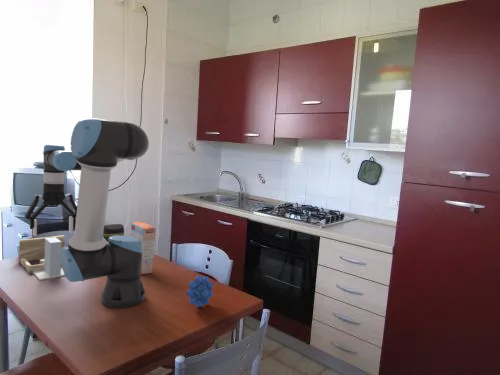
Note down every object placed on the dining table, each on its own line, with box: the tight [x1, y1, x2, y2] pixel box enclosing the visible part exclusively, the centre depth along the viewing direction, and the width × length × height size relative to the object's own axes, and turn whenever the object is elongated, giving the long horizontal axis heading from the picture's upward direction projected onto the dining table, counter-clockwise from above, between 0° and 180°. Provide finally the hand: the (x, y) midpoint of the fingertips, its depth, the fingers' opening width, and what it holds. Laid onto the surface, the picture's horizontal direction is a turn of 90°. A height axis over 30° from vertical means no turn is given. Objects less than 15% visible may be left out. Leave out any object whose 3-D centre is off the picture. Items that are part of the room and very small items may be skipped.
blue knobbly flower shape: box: [186, 275, 214, 308], centre depth 128 cm, size 12×7×12 cm, turn 134°
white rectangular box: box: [44, 237, 61, 276], centre depth 149 cm, size 8×4×14 cm, turn 44°
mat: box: [32, 267, 65, 281], centre depth 149 cm, size 10×12×1 cm
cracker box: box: [130, 221, 156, 276], centre depth 162 cm, size 14×6×21 cm, turn 39°
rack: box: [18, 235, 66, 274], centre depth 160 cm, size 18×18×10 cm
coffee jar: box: [103, 223, 125, 242], centre depth 167 cm, size 10×8×19 cm
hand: (53, 233), depth 147 cm, fingers open, 13 cm apart
